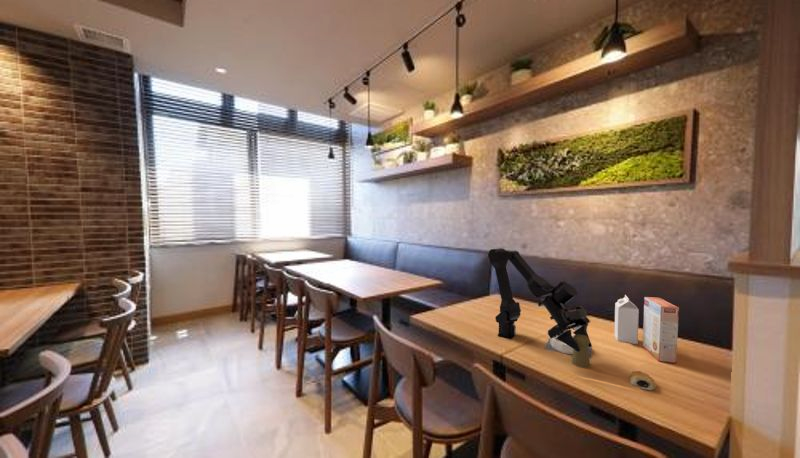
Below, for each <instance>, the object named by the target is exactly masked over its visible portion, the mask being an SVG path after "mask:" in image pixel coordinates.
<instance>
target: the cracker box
mask: <svg viewBox="0 0 800 458" xmlns="http://www.w3.org/2000/svg"><path fill="white" fill-rule="evenodd" d="M643 301H644V302H643V325H642V326H643V327H642V347H643V349H644V350H645V351H647V352H648V353H649V354H650V355H651V356H652V357H654V358H655V360H657V362H664V363H669V364H670V363H671V364H673V363H674V364H677V356H678V355H677V352H678V334H679V313H680V307H678V306H677V305H674V304H672V303H671V302H668V301H666V300H665V299H663V298H661V297H651V296H644V299H643Z"/></svg>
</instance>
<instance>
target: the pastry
mask: <svg viewBox="0 0 800 458" xmlns="http://www.w3.org/2000/svg"><path fill="white" fill-rule="evenodd" d="M628 378H629V384H630V385H631V386H635V387H639V389H641V390H645V391H650V392H651V391H654V390H655V389H656V387H657V386H656V382H655V380H654V379H653V377H652V376H650V375H649V374H648V373H646V372H642V371H641V370H635V371H632V372H630V374H629V376H628Z"/></svg>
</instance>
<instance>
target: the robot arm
mask: <svg viewBox="0 0 800 458" xmlns="http://www.w3.org/2000/svg"><path fill="white" fill-rule="evenodd" d="M487 258H488V260H489V262H490V264H491V266H492V267H493V269H494V271H495V276H496V280H497V284H498V290H499V294H500V295H499V296H500V298H501V299H500V300H501V302H500V305H499V313H498V314H497V315H496V316H494V318H495V322H496V323H498V333H497V337H502V338H507V339H511V340H512V339H513V338H514V337H515V336H516V334H517V329H516V328H517V327H516V325H515V323H516V322H518V320H519V318H520V316H521V312H522V310H521V307H520V303H519V301H516V300H515V299H514V296H513V292H512V288H511V283H510V280H509V275H508V274H509V273H508V269H507V266H508V265H507V264H508V261H509V262H510V263H511V264H512V265H513V266H514V268H515V269H516V270H517V272H518V273H519V274H520V275H521V276H522V278H523V279H524V280H525V282H526V284H527V288H528V289H529V291H530V293H531V295H532V296H534V298H539V299H538V305H537V306H538V307H543V306H544V308H545V309H546V310H547V312H548V313H549V315H550V317H549V319H550V320H554V322H555V325H554V326H552V327H551V328H550V329H549V330H547V335H548V337H549V338H551V339H552V338H555V337H556V335H557V336H558V337H557V338H556V339H558V340H560V341H562V342H563V343H565V344H567V345H568V346H570V347H571V348H573V349H574V350H576V351H577V352H579V351H580V348H579V347H578V345H577V343H576V342H575V340H574V339H573V337H572V335H571V334H572V333H573V335H577V334H582V335H585V336H587V337H588V338H589V340H590V337H589V334H588V330H587V328H588V326H589V324H590V323H591V320H590V319H589V317H588V316H587V312H588V310H587V309H586V308H585V307H584V306H583V305H578V306H577V305H576V307H575V309H574V310H571V309H570V308H569V307H565V306H564V305H566V304H567V303H569V302H570V301H571V300H572V299H574V298H575V297H576V296H578V292H577V290H576V288H575V287H574V286H572V284H570V283H567V282H566V281H565V280H562V281H560V282H559V283H557V285H556V286H554V285H552V284H551V283H550V282H549V281H547V280H546V279H545V278H543V276H540V275H538V274H537V273H536V272H535V271H534V269H532V267H531V266H530V265H529V264H528V262H527V261H525V259H524V257H522V256H521V254H520V252H519V251H518V250H509V249H508V250H507V249H505V248H503V247H500V248H491V249H490V250H489V251H488V253H487ZM542 297H544V298H542ZM563 304H564V305H563ZM572 330H573V332H572ZM592 345H593V344H592V343H591V340H590V343H589V345H588V347H591V346H592ZM592 347H593V346H592Z"/></svg>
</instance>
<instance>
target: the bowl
mask: <svg viewBox="0 0 800 458" xmlns="http://www.w3.org/2000/svg"><path fill="white" fill-rule="evenodd" d="M571 335H572V337H574V336H575V334H574V333H573V334H572V333H571ZM557 337H558V336H557V335H556V337H555V338H552V339H551V338H550V337H549V338H550V343H551V347H552V348H553V349H555V350H557V351H559V352H558V353H560V352H562V354H565V353H566V355H570V354H572V355H571V356H573V351H574V349H573V348H571V347H570V346H568V345H567V344H565V343H563V342H562V341H560V340H558V339H556V338H557Z"/></svg>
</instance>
